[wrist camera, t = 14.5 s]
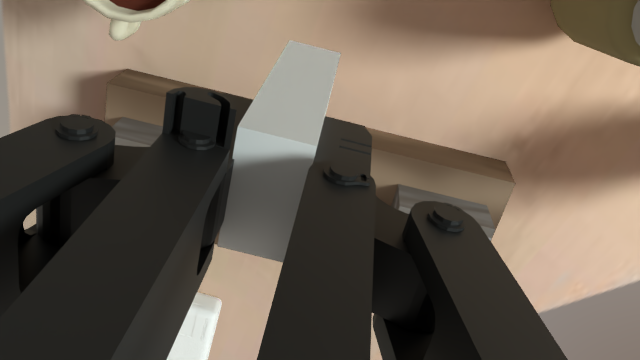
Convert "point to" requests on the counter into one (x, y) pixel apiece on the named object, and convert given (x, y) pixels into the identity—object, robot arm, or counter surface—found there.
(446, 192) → the mount
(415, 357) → the robot arm
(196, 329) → the soap
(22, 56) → the counter surface
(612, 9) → the squeeze bottle
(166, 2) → the character mug
